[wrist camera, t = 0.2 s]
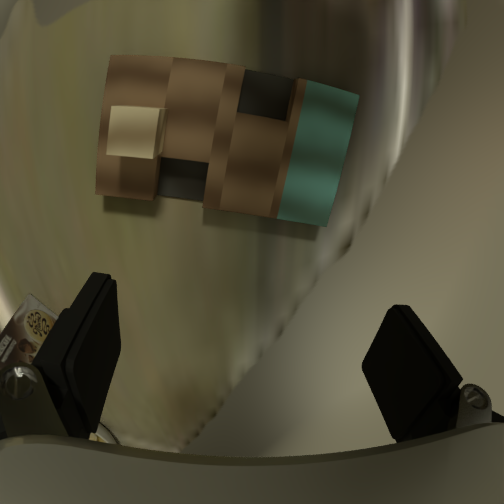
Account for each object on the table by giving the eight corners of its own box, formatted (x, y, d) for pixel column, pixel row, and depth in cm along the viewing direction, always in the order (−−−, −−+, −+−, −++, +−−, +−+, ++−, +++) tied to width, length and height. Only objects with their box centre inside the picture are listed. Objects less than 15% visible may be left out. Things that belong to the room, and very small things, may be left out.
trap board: (118, 58, 30) (110, 55, 28) (350, 95, 35) (359, 95, 32) (103, 187, 37) (95, 194, 35) (319, 218, 42) (326, 227, 39)
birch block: (126, 105, 31) (111, 105, 26) (168, 108, 31) (159, 109, 27) (121, 147, 33) (106, 154, 28) (162, 151, 33) (152, 158, 29)
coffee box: (20, 312, 45) (-21, 372, 30) (29, 292, 43) (-16, 354, 29) (57, 342, 48) (25, 408, 34) (70, 324, 47) (34, 394, 32)
